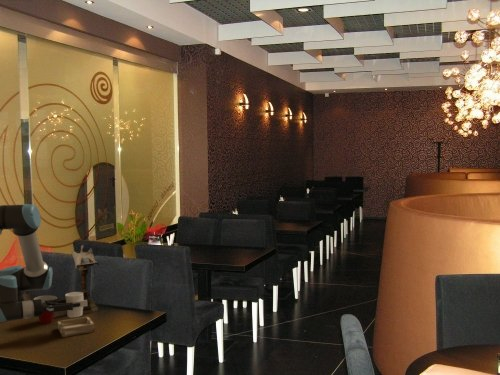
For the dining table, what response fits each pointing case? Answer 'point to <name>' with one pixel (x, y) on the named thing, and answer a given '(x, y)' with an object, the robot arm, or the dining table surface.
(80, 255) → the bird statue
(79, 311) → the white cup
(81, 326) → the birch crate
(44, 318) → the plastic cup
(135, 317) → the dining table surface
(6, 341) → the dining table surface
